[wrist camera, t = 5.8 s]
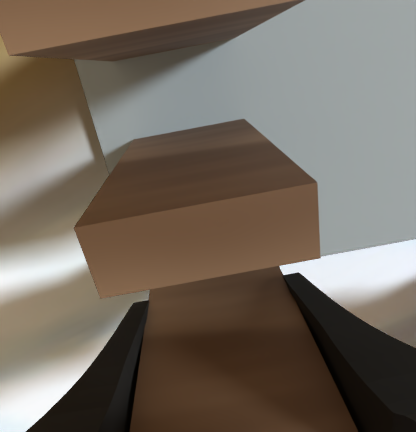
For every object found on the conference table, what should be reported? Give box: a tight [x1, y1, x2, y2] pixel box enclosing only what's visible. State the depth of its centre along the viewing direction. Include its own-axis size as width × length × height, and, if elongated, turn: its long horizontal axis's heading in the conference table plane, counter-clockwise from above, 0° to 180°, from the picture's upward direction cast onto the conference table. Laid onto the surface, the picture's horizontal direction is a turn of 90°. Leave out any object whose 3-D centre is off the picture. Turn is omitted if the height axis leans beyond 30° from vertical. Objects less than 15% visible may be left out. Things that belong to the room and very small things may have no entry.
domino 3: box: [130, 266, 358, 432], centre depth 11 cm, size 2×5×9 cm, turn 100°
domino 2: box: [74, 119, 321, 298], centre depth 11 cm, size 2×5×9 cm, turn 100°
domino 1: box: [0, 0, 305, 61], centre depth 9 cm, size 2×5×9 cm, turn 100°
